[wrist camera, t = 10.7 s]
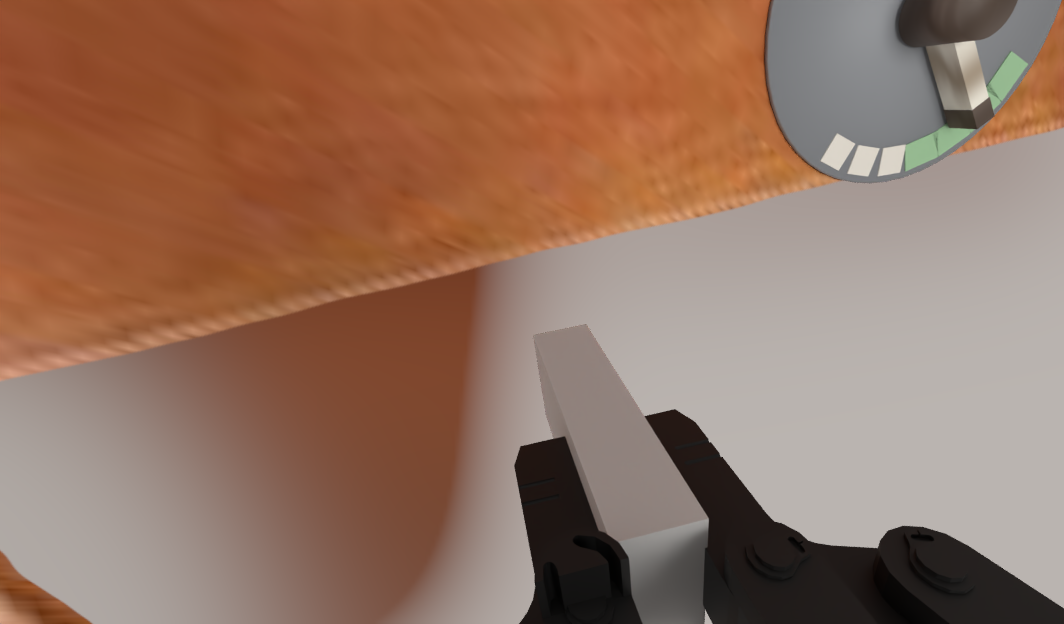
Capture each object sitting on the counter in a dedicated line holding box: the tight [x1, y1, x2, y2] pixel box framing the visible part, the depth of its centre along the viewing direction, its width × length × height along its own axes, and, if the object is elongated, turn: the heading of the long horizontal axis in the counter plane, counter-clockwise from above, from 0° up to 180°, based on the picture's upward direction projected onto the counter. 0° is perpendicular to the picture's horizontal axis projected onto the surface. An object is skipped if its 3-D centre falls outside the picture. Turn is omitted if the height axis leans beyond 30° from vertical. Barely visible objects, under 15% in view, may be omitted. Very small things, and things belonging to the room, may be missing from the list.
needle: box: [899, 0, 1018, 129], centre depth 38 cm, size 14×5×5 cm, turn 40°
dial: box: [765, 0, 1062, 183], centre depth 39 cm, size 28×28×1 cm
